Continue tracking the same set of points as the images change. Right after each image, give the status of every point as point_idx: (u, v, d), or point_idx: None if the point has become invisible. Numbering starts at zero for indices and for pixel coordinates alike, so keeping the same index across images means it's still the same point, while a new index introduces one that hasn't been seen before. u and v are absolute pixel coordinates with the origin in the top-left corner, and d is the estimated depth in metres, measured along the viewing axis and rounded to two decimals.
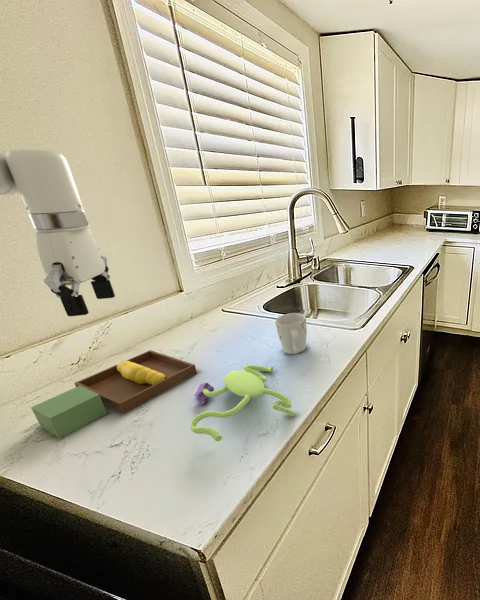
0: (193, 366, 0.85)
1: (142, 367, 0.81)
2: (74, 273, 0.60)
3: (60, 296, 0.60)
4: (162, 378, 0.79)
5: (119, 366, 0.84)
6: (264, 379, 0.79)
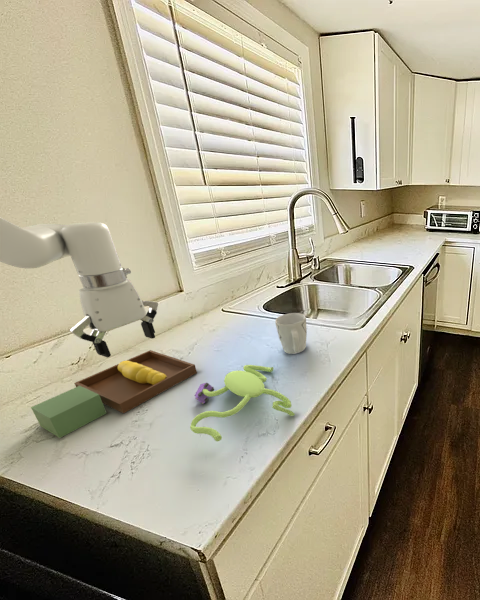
0: (193, 366, 0.85)
1: (144, 366, 0.81)
2: (97, 324, 0.71)
3: None
4: (163, 378, 0.79)
5: (120, 366, 0.84)
6: (264, 379, 0.79)
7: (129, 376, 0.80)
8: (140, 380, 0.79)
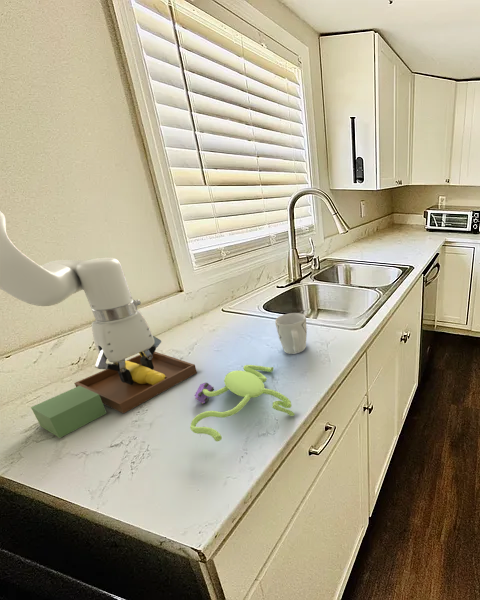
0: (193, 366, 0.85)
1: (142, 367, 0.81)
2: (108, 356, 0.74)
3: None
4: (162, 378, 0.79)
5: None
6: (264, 379, 0.79)
7: None
8: (140, 381, 0.79)
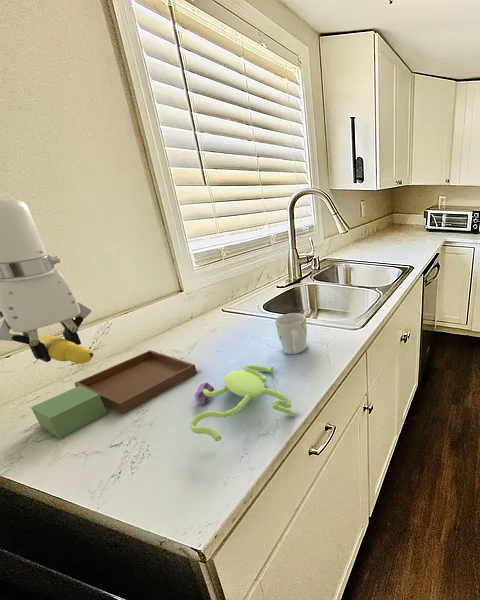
0: (193, 366, 0.85)
1: (63, 341, 0.65)
2: (11, 323, 0.58)
3: None
4: (86, 354, 0.64)
5: None
6: (264, 379, 0.79)
7: None
8: (57, 357, 0.63)
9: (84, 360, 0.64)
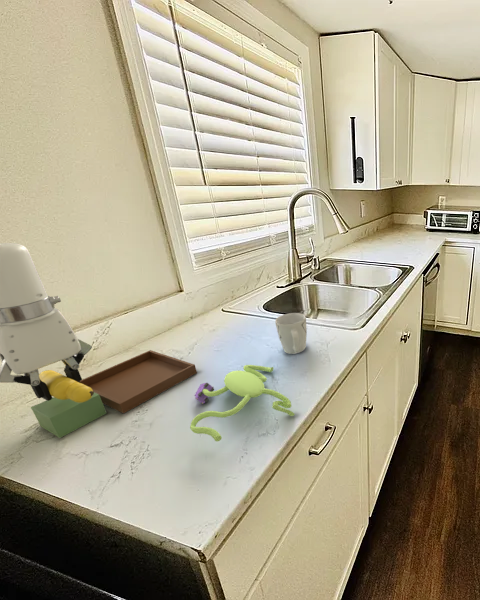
0: (193, 366, 0.85)
1: (64, 379, 0.66)
2: (12, 366, 0.59)
3: None
4: (86, 393, 0.64)
5: (39, 377, 0.69)
6: (264, 379, 0.79)
7: None
8: (58, 396, 0.64)
9: (84, 399, 0.64)
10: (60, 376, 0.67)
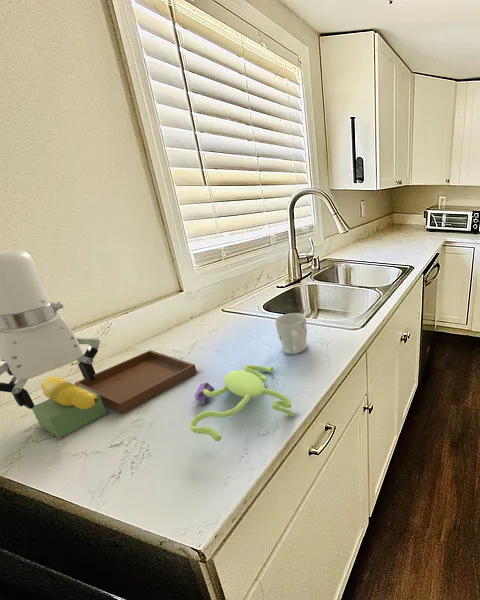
0: (193, 366, 0.85)
1: (69, 385, 0.67)
2: (15, 372, 0.60)
3: None
4: (91, 399, 0.65)
5: (44, 383, 0.70)
6: (264, 379, 0.79)
7: (50, 397, 0.66)
8: (62, 402, 0.65)
9: (88, 406, 0.65)
10: (65, 382, 0.68)
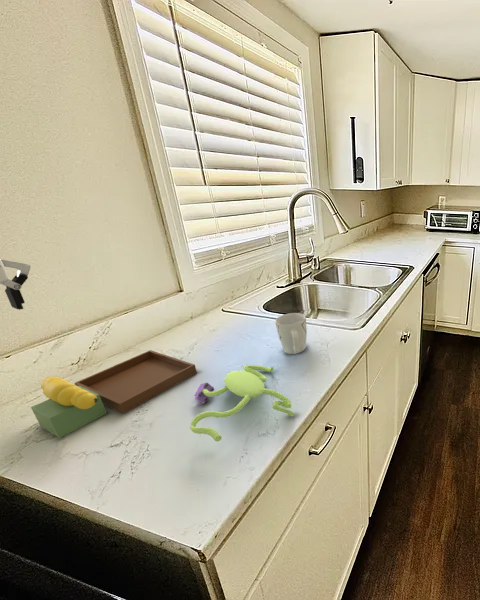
0: (193, 366, 0.85)
1: (69, 385, 0.67)
2: None
3: None
4: (91, 399, 0.65)
5: (44, 383, 0.70)
6: (264, 379, 0.79)
7: (50, 397, 0.66)
8: (62, 402, 0.65)
9: (88, 406, 0.65)
10: (65, 382, 0.68)
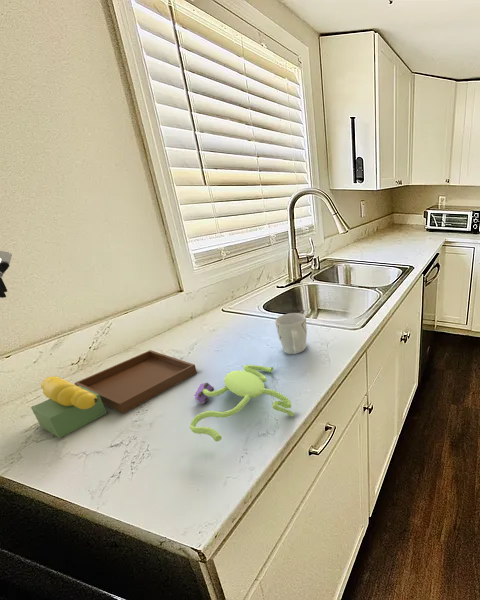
0: (193, 366, 0.85)
1: (69, 385, 0.67)
2: None
3: None
4: (91, 399, 0.65)
5: (44, 383, 0.70)
6: (264, 379, 0.79)
7: (50, 397, 0.66)
8: (62, 402, 0.65)
9: (88, 406, 0.65)
10: (65, 382, 0.68)
